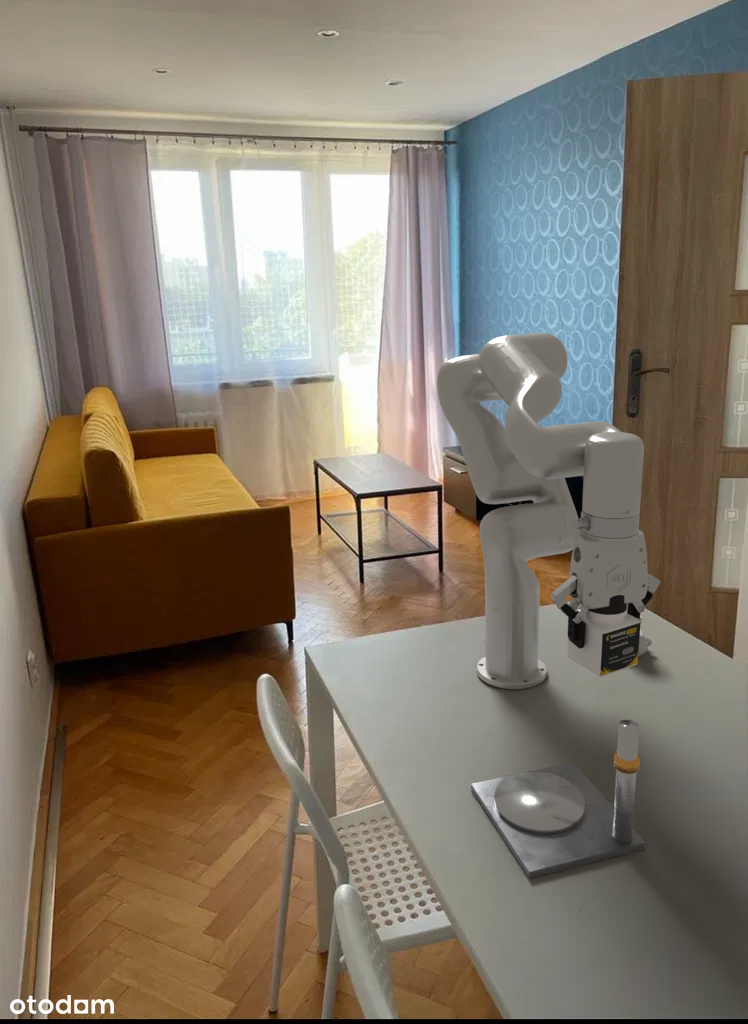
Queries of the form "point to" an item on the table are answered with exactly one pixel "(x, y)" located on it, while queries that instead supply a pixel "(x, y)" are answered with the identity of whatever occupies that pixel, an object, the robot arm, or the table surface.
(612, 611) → the medicine bottle
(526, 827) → the base plate with post
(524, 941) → the table surface
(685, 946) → the table surface
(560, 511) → the robot arm
